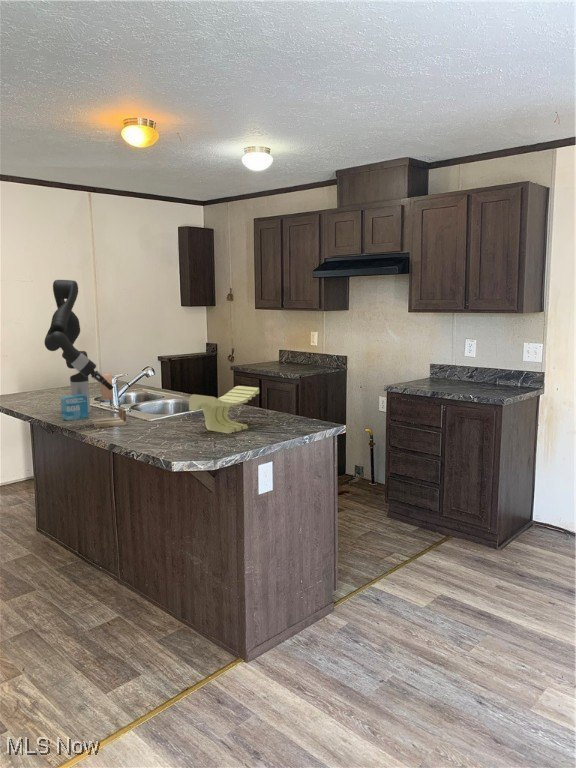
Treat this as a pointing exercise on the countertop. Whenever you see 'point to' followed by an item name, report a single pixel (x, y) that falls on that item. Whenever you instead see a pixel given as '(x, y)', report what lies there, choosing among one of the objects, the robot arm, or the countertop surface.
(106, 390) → the peach dome-topped cylinder
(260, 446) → the countertop surface
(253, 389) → the slatted curved stool
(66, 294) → the robot arm
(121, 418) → the wooden l-shaped stand
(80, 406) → the data package
